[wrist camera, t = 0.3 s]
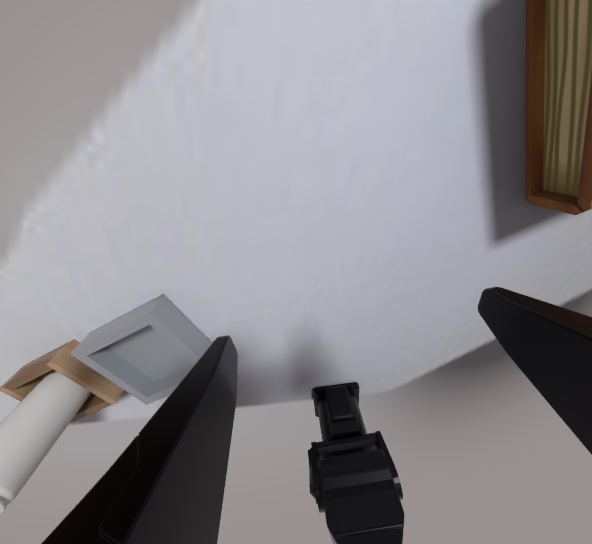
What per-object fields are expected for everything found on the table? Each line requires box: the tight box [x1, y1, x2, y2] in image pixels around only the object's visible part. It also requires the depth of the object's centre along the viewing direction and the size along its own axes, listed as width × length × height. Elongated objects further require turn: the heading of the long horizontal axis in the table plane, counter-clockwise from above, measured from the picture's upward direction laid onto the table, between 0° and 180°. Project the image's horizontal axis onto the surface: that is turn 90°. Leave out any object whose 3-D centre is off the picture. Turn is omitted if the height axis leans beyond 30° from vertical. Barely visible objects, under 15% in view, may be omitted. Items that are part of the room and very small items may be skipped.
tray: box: [70, 294, 212, 405], centre depth 26 cm, size 10×10×3 cm
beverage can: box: [0, 369, 92, 513], centre depth 24 cm, size 5×5×12 cm
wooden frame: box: [0, 340, 124, 423], centre depth 27 cm, size 8×8×3 cm
